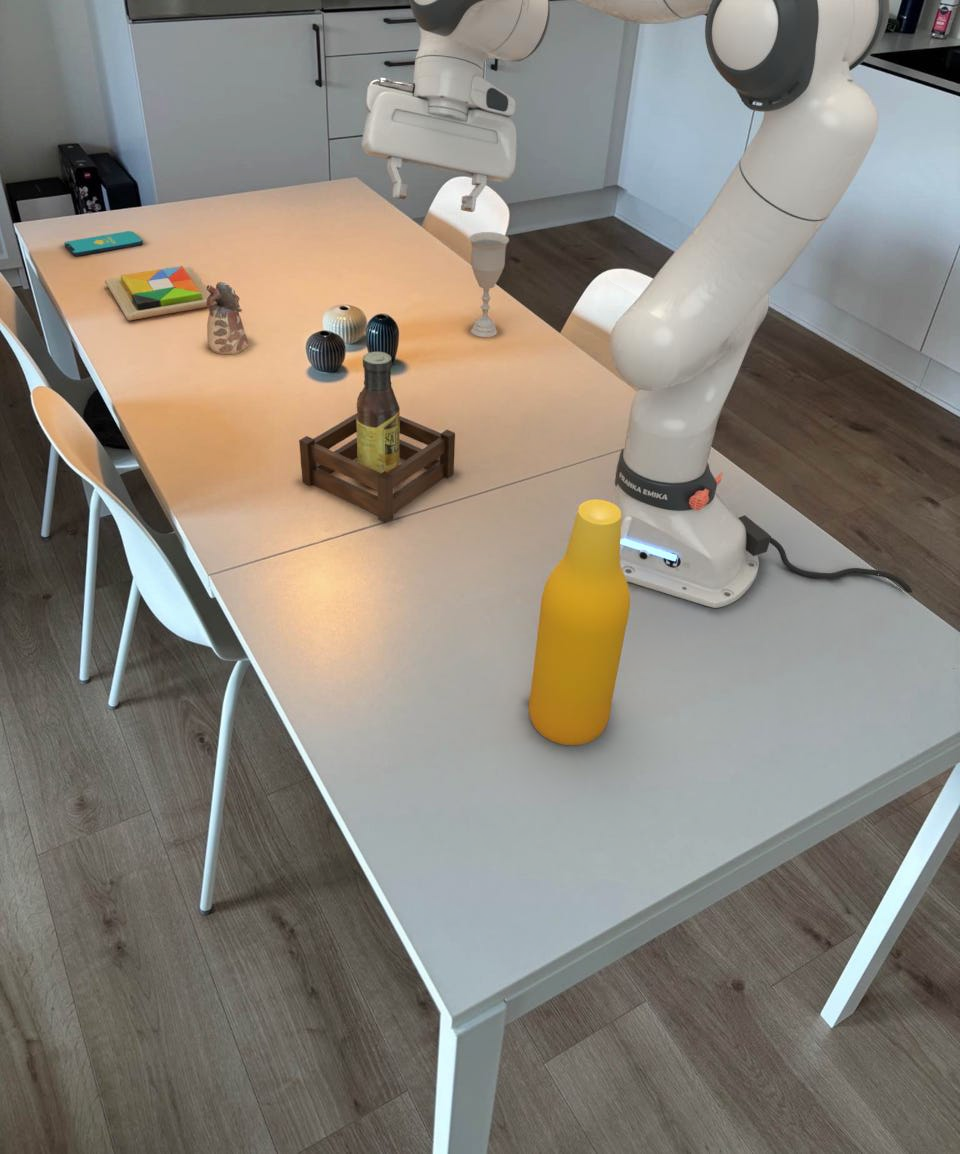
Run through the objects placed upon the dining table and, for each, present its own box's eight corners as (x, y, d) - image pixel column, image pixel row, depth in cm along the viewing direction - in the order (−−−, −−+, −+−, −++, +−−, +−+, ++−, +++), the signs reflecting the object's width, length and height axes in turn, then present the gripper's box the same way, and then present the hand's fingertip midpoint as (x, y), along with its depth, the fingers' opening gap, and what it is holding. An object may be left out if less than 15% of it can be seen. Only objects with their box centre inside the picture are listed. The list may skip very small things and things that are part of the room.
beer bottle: (529, 747, 108) (554, 539, 90) (526, 686, 115) (548, 482, 97) (612, 749, 108) (654, 542, 90) (603, 689, 115) (641, 486, 97)
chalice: (496, 321, 192) (502, 230, 180) (507, 337, 187) (514, 244, 175) (460, 325, 190) (464, 233, 178) (471, 340, 185) (475, 247, 173)
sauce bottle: (393, 493, 145) (392, 372, 132) (352, 487, 145) (347, 366, 133) (404, 470, 150) (404, 351, 137) (365, 464, 150) (361, 345, 138)
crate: (453, 474, 149) (455, 432, 145) (386, 523, 139) (385, 479, 134) (372, 438, 156) (371, 397, 151) (302, 482, 146) (298, 440, 141)
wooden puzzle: (130, 324, 183) (126, 307, 181) (104, 287, 195) (101, 270, 193) (220, 308, 190) (218, 291, 188) (190, 273, 203) (187, 256, 200)
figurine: (253, 351, 177) (246, 287, 170) (214, 357, 175) (205, 293, 167) (242, 334, 182) (235, 272, 174) (204, 340, 180) (195, 277, 172)
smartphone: (143, 240, 213) (74, 252, 205) (144, 244, 213) (74, 256, 206) (131, 230, 217) (63, 241, 210) (132, 233, 218) (63, 245, 210)
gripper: (373, 67, 119) (362, 187, 122) (527, 103, 126) (512, 215, 129) (362, 78, 125) (351, 192, 128) (510, 112, 132) (496, 219, 135)
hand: (433, 204), depth 128 cm, fingers open, 8 cm apart
